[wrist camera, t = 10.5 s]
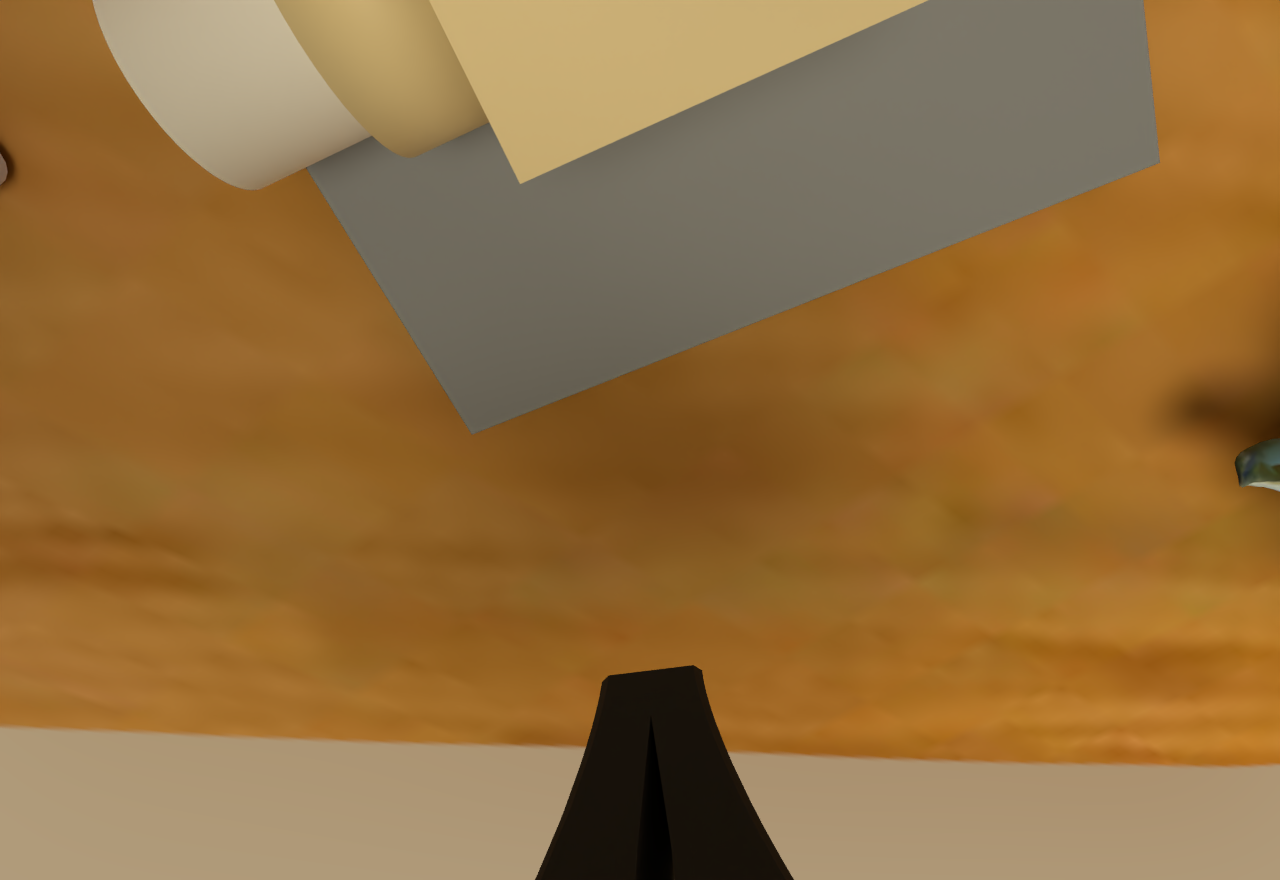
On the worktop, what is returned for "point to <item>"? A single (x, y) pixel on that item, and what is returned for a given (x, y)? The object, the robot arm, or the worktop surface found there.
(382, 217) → the valve board
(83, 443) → the worktop surface
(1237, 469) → the passion flower
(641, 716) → the robot arm
